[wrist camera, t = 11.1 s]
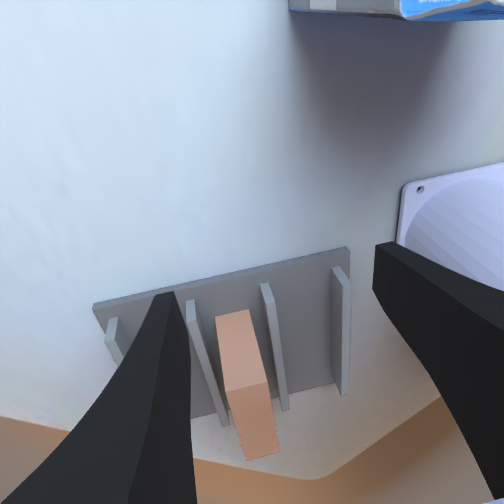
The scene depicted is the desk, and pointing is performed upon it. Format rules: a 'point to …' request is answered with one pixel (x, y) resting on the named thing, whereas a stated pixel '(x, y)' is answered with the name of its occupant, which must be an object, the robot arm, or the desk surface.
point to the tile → (246, 385)
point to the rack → (255, 325)
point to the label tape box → (407, 9)
